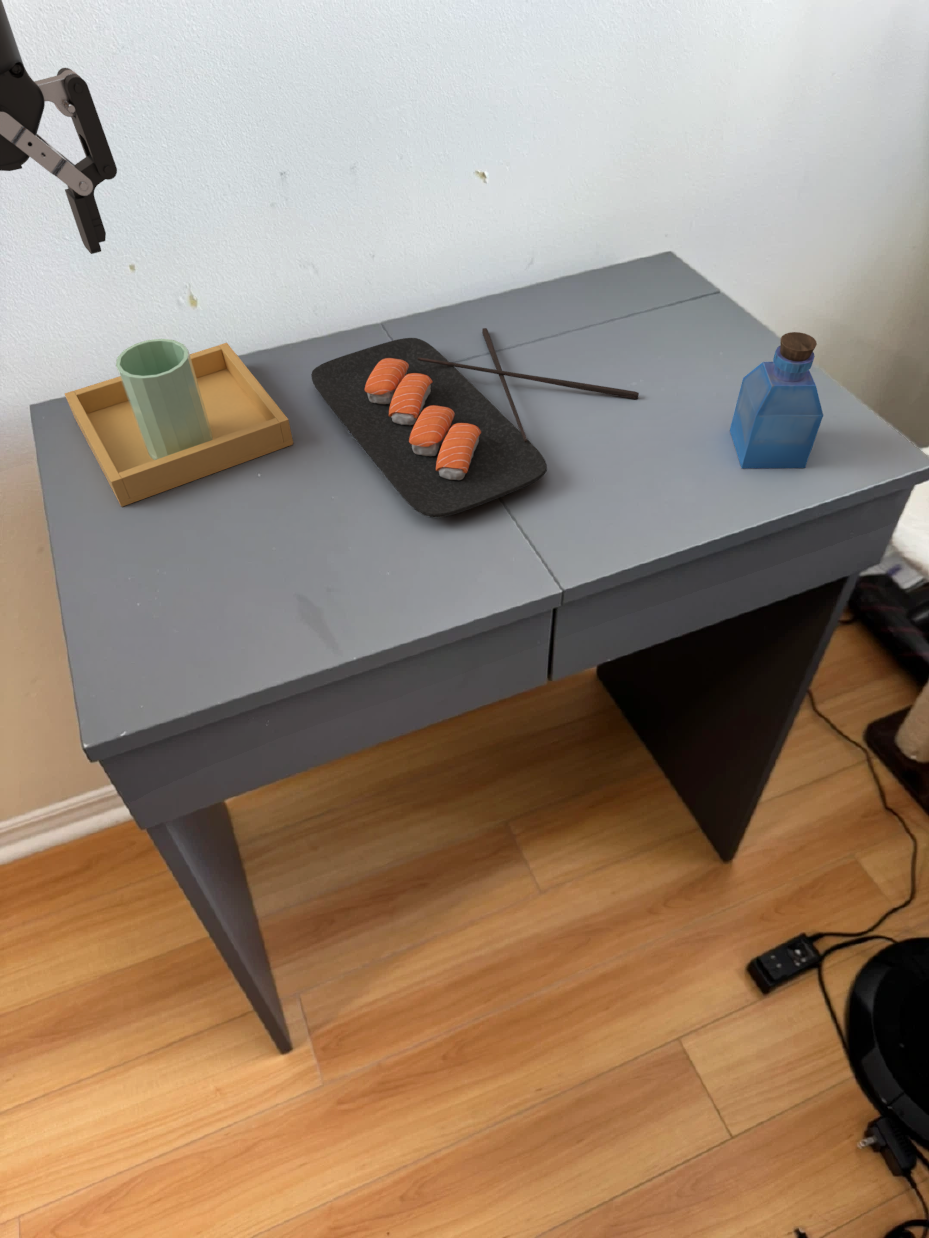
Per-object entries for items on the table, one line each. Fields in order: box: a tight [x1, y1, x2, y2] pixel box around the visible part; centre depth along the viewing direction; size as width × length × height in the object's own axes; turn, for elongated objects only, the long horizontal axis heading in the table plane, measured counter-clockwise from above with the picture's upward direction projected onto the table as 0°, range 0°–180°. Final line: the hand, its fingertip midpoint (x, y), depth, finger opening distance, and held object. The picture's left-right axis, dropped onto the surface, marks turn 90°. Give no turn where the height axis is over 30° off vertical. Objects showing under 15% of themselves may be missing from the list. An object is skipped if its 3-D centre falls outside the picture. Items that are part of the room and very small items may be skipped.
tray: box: [64, 342, 294, 508], centre depth 90 cm, size 18×17×3 cm
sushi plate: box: [310, 327, 640, 518], centre depth 92 cm, size 29×30×4 cm
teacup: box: [115, 338, 213, 460], centre depth 85 cm, size 7×7×10 cm
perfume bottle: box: [729, 331, 824, 469], centre depth 83 cm, size 6×6×12 cm
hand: (30, 265), depth 59 cm, fingers open, 8 cm apart
